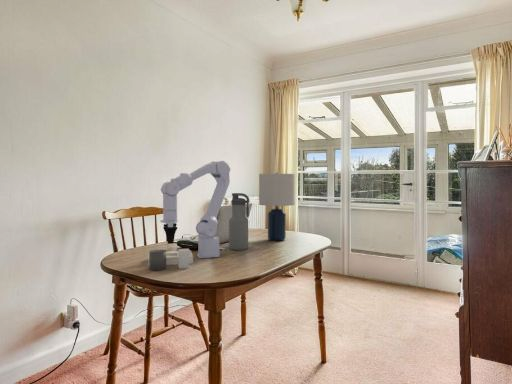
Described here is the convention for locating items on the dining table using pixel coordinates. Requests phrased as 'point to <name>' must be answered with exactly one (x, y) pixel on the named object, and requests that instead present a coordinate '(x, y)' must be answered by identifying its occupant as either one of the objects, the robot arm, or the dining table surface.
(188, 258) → the square peg
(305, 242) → the dining table surface
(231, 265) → the dining table surface
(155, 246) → the dining table surface
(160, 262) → the round peg
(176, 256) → the bore plate
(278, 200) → the lamp
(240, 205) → the water bottle
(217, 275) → the dining table surface
